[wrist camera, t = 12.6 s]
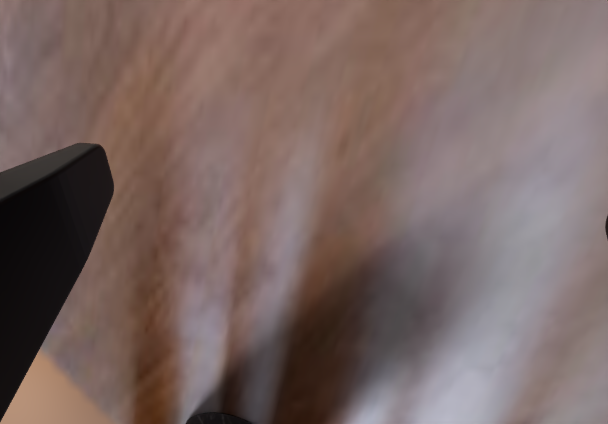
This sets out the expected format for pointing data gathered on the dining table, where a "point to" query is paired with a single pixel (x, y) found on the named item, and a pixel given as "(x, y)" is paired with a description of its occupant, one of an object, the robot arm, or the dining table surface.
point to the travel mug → (215, 419)
